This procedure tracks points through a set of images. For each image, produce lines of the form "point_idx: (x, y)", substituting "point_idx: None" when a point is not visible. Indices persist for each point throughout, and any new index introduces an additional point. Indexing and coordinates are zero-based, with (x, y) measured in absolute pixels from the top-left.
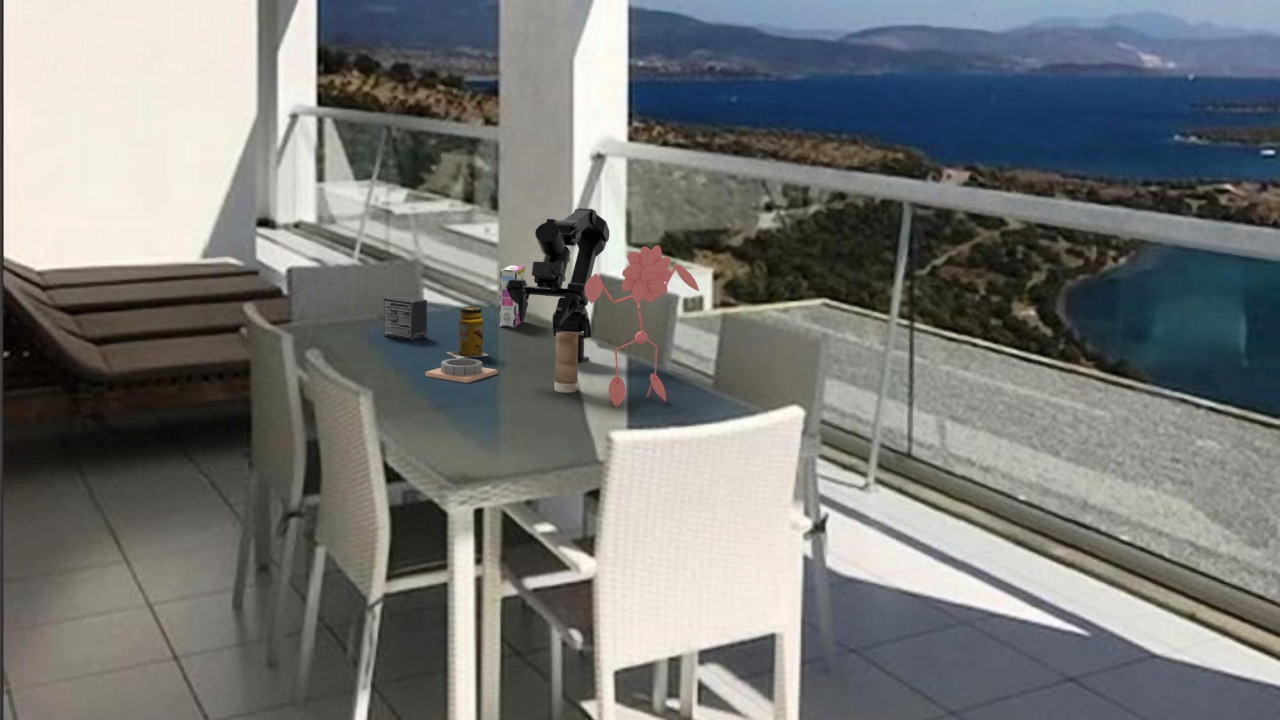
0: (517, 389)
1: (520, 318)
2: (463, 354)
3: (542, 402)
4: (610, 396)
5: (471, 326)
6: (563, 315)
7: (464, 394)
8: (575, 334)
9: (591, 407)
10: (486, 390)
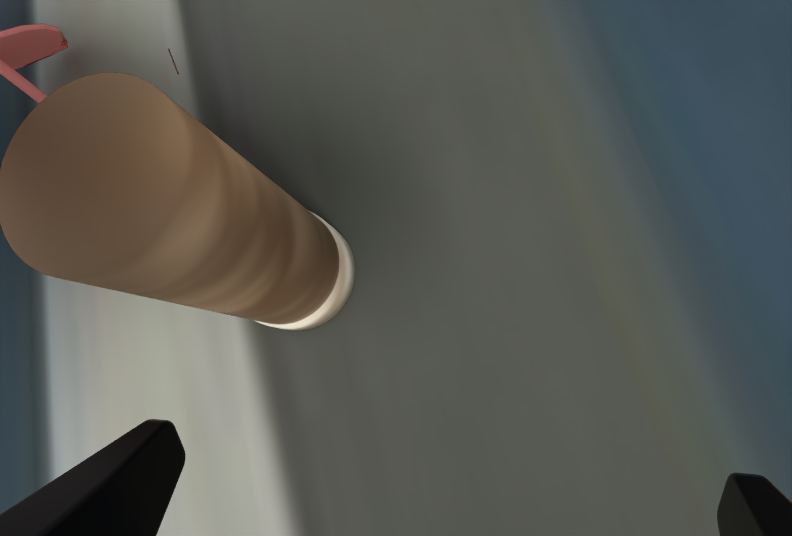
0: (534, 201)
1: (762, 489)
2: None
3: (349, 18)
4: (55, 28)
5: None
6: (32, 504)
7: (762, 2)
8: (16, 161)
9: (154, 25)
10: (686, 122)
